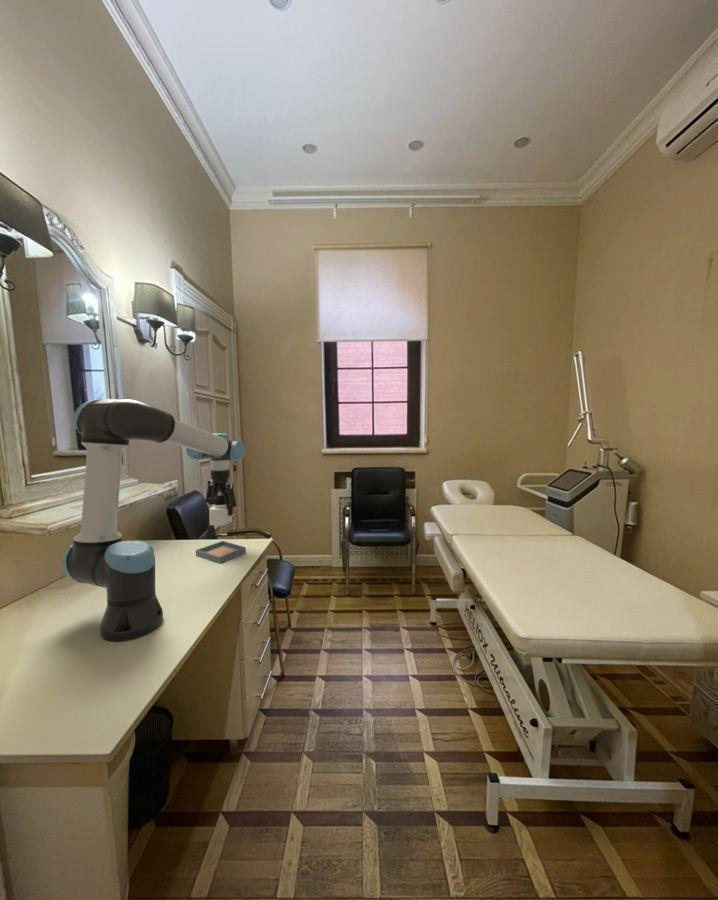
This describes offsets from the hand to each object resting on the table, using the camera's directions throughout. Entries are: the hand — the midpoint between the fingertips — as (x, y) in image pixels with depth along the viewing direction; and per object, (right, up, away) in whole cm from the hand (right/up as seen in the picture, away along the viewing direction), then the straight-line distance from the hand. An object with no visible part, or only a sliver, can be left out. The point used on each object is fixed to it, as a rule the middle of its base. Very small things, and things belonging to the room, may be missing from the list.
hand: (220, 520), depth 155 cm
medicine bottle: (0, -1, 0) cm, 1 cm away
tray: (0, -15, +1) cm, 15 cm away
